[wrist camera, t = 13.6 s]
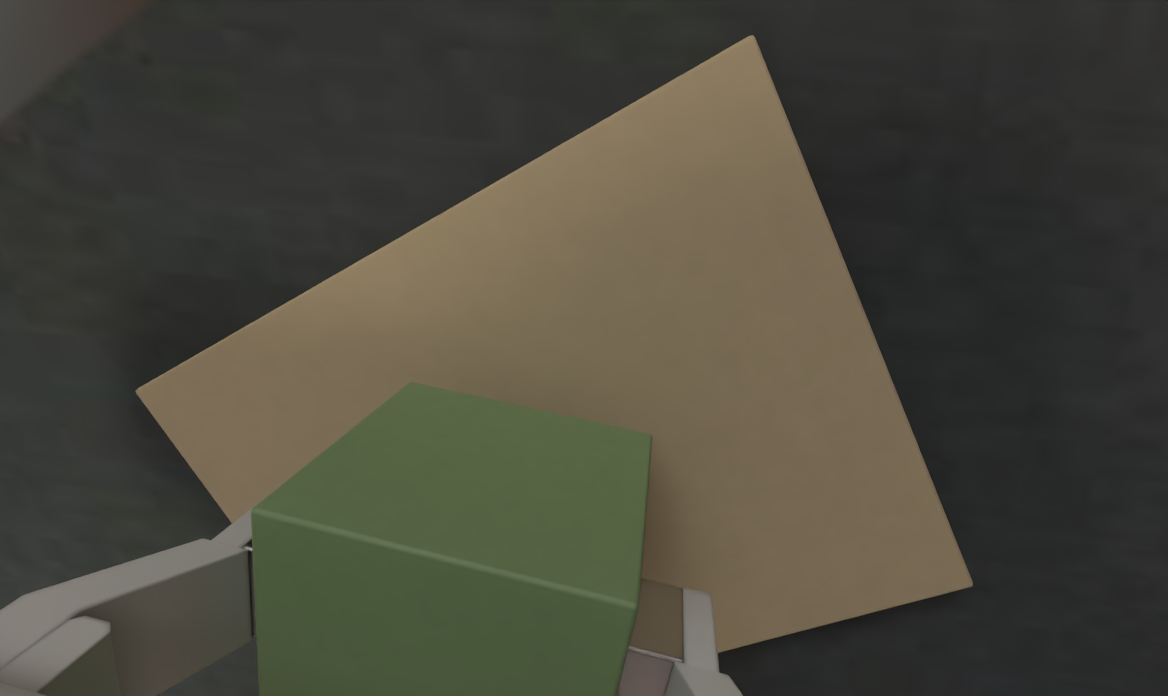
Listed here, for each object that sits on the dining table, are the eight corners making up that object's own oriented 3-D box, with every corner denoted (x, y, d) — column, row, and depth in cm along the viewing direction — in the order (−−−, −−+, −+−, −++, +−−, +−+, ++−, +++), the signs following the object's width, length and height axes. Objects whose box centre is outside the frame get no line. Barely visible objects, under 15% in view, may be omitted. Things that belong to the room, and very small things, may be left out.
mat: (749, 40, 10) (753, 32, 9) (962, 568, 12) (975, 587, 12) (154, 382, 14) (133, 391, 14) (399, 720, 17) (389, 739, 16)
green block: (409, 379, 11) (247, 508, 7) (653, 432, 11) (640, 607, 6) (398, 575, 13) (261, 776, 9) (608, 629, 12) (573, 871, 8)
